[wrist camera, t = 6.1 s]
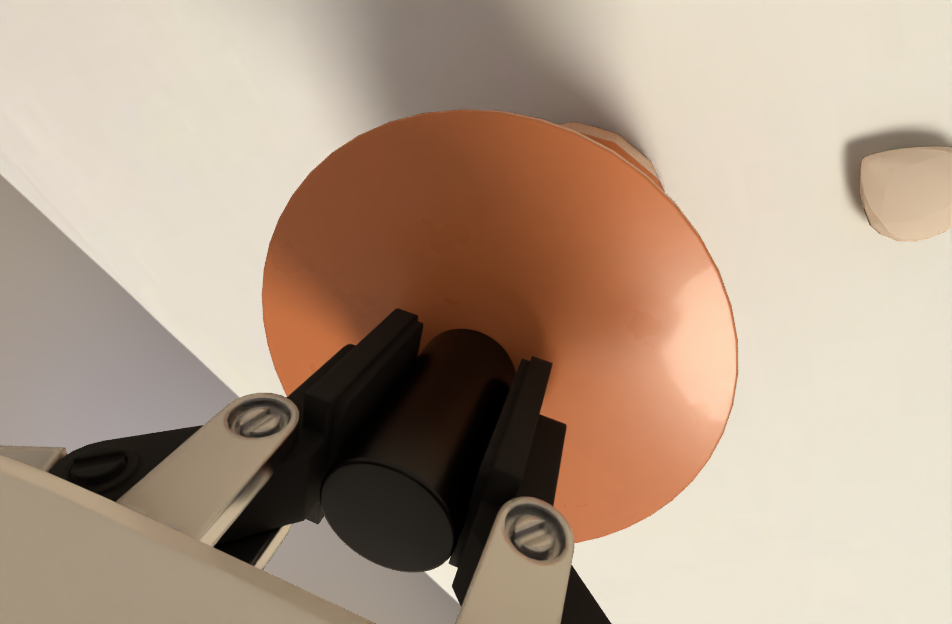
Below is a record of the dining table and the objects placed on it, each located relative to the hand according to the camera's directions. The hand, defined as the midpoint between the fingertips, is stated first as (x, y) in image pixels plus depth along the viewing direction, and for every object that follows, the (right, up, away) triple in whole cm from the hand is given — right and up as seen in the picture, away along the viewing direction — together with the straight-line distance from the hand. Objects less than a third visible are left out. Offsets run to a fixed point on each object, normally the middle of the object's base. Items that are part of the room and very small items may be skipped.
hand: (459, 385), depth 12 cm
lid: (0, 0, +1) cm, 1 cm away
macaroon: (+21, +8, +11) cm, 25 cm away
